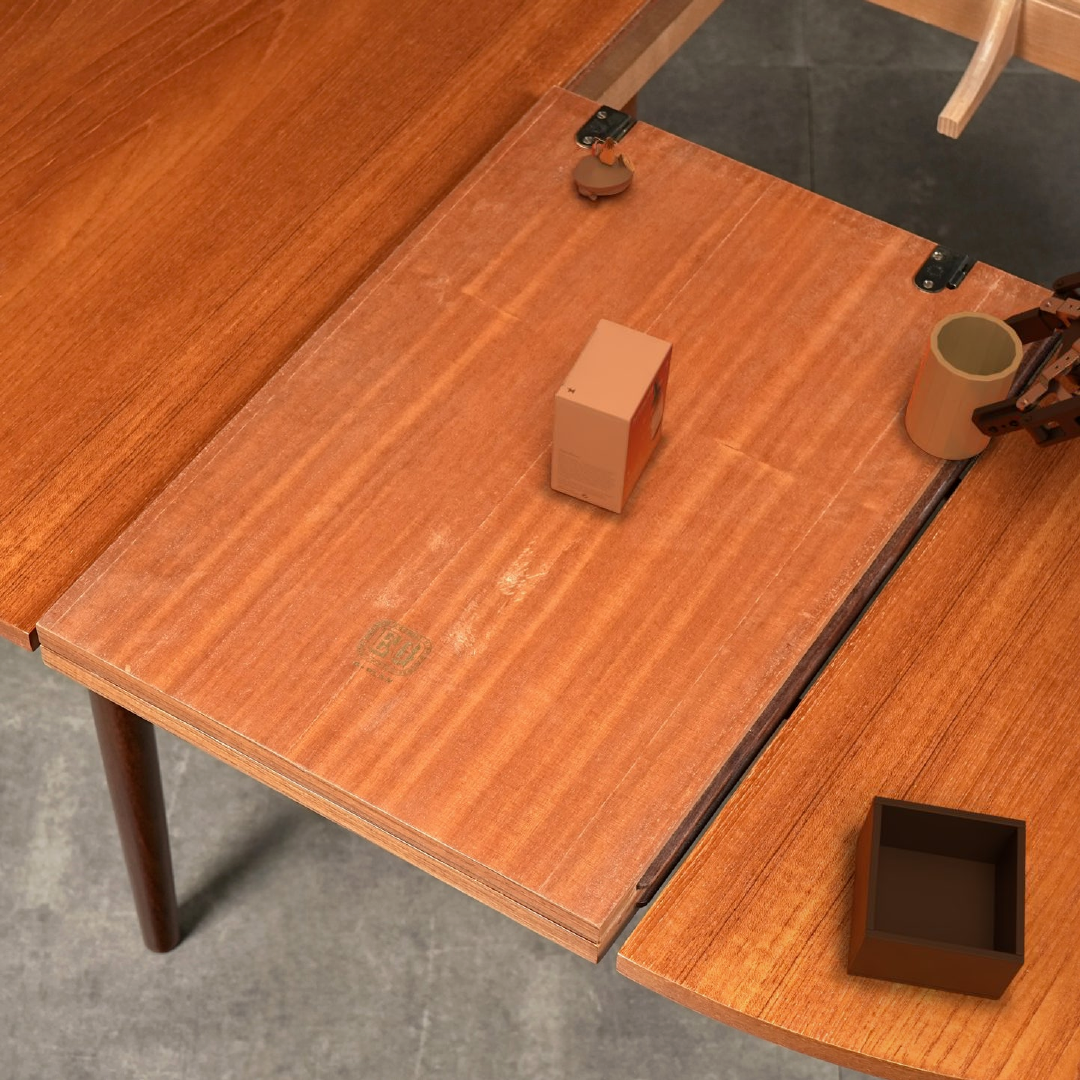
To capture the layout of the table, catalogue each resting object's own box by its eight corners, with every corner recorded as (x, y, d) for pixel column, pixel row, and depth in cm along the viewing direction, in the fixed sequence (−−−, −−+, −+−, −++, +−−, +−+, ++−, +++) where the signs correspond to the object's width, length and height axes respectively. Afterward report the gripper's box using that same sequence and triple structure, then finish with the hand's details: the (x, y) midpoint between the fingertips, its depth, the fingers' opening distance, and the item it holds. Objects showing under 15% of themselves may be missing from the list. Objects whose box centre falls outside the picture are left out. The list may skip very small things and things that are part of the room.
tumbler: (1009, 431, 126) (1042, 351, 118) (950, 474, 123) (979, 395, 116) (946, 379, 128) (973, 297, 121) (887, 420, 126) (911, 339, 118)
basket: (998, 1000, 101) (1024, 963, 96) (847, 974, 101) (865, 936, 97) (1001, 862, 106) (1026, 820, 101) (857, 838, 107) (874, 795, 102)
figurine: (577, 210, 138) (580, 154, 133) (566, 173, 140) (569, 116, 135) (640, 202, 138) (646, 146, 133) (628, 165, 141) (633, 109, 136)
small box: (620, 517, 120) (629, 424, 112) (548, 489, 121) (552, 395, 113) (663, 437, 124) (675, 341, 116) (593, 411, 126) (600, 314, 117)
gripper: (1194, 197, 111) (979, 275, 122) (1166, 352, 103) (940, 419, 115) (1247, 275, 115) (1033, 343, 126) (1223, 430, 107) (998, 488, 118)
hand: (989, 379), depth 120 cm, fingers open, 8 cm apart
